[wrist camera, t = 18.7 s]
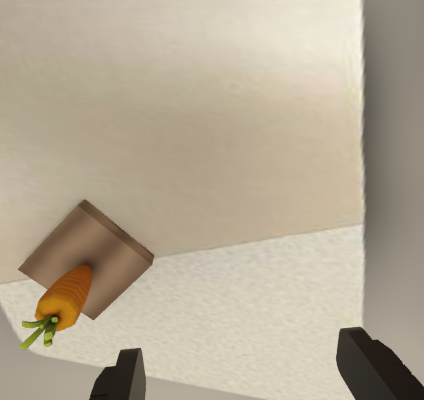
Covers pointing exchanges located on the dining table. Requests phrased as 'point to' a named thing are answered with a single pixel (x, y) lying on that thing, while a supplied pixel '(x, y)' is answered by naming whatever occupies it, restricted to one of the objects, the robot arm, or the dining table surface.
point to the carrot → (60, 305)
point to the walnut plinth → (90, 257)
